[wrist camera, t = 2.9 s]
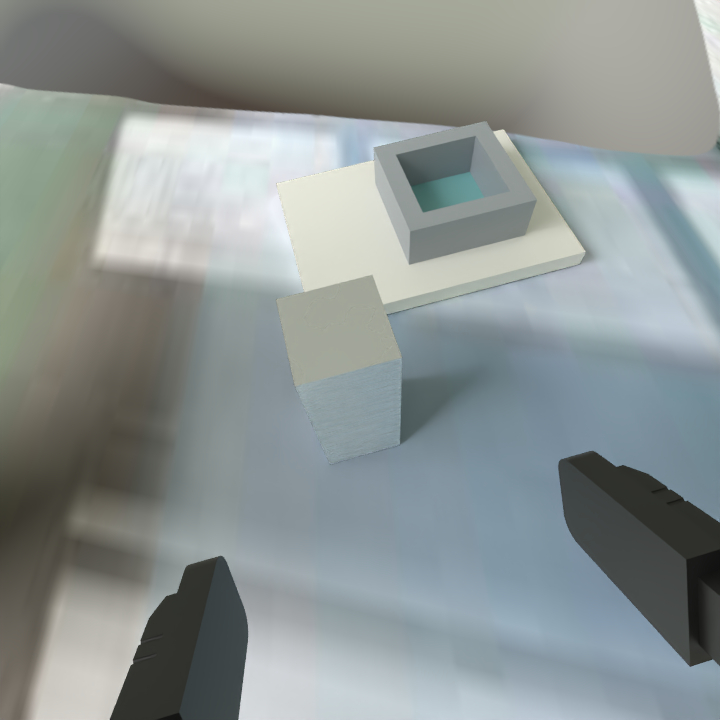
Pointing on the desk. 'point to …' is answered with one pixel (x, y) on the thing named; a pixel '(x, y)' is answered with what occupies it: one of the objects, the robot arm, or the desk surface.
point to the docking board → (428, 219)
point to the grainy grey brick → (345, 366)
